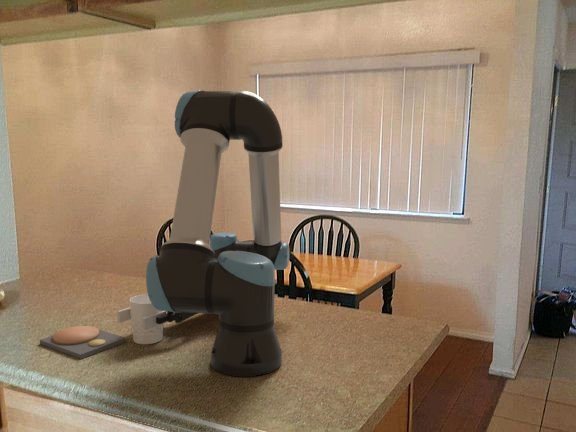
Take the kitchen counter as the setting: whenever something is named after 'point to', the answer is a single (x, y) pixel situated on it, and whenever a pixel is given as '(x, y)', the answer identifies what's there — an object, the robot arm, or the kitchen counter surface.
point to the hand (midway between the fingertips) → (131, 320)
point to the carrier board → (82, 341)
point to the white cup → (138, 310)
